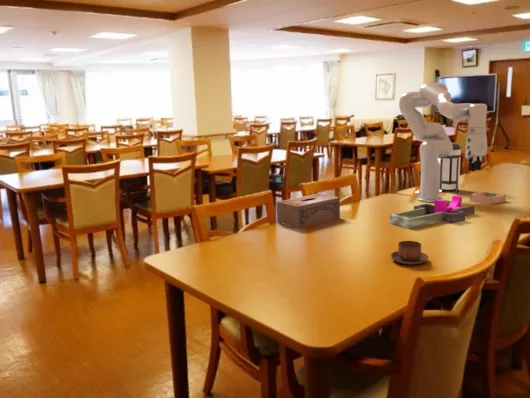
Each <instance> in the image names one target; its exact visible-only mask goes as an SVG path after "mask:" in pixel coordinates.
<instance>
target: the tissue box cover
mask: <svg viewBox="0 0 530 398" xmlns="http://www.w3.org/2000/svg"><path fill="white" fill-rule="evenodd" d="M340 208H341V198H340V196H339V197H338V196H333V195H328V194H322V193H314V194H309V195H304V196H298V197H293V198H289V199H284V200H279V201H276V221H277V224H280V223H284V224H286V225H285V226H288V225H289V226H288V227H290V228H291V227H292V228H295V229H302V227H303V228H306V227H309V226H314V225H317V223H318V224H322V223H326V222H329V220H330V221H334V220H338V219H340V218H341V209H340ZM337 218H338V219H337ZM333 219H334V220H333ZM325 221H326V222H325ZM321 222H322V223H321ZM284 224H283V225H284ZM313 224H314V225H313Z"/></svg>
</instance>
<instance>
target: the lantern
mask: <svg viewBox="0 0 530 398" xmlns="http://www.w3.org/2000/svg"><path fill="white" fill-rule="evenodd" d="M449 139H450V141H451V143H452V146H453V150H452V153H451V154H450V155H449V156H446V157H439V158H437V159H438V161H439V164H440V189H439V193H441V192H442V191H444V190H445V191H446V190H447V191H448V190H449V191H451V190H454V192H455V193H459V192H460V189H459V187H460V174H461V173H460V172H461V157H462V154H461V153H462V152H461V151H462V149H463V148H462V147H461V145H460V144H459V143H458V142H457V143H456V142H452V141H453V139H452V138H450V137H449Z"/></svg>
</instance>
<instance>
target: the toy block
mask: <svg viewBox="0 0 530 398" xmlns="http://www.w3.org/2000/svg"><path fill="white" fill-rule="evenodd" d="M446 201H447V200H444V199H442V200H439V199H438V200H435V202H434V205H435V208H434V213H438V212H446V213H451V211H452V209H457V208H462V207H463V196H459V195H452V196H451V201H450V202H449V203H450V204H449V205H448V206H447V205H446V203H447V202H446Z"/></svg>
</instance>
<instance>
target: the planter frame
mask: <svg viewBox="0 0 530 398" xmlns="http://www.w3.org/2000/svg"><path fill="white" fill-rule="evenodd" d="M486 193H491V194H493V193H494V191H493V192H491V191H487V190H486V191H485V190H484V191H479V192H474V193H471V194H470V198H469V199H470V202H475V203H480V204H487V205H493V204H499V203H505V202H506V194H503V193H498V192H495V193H496V196H493V197H487V196H485V194H486Z"/></svg>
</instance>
